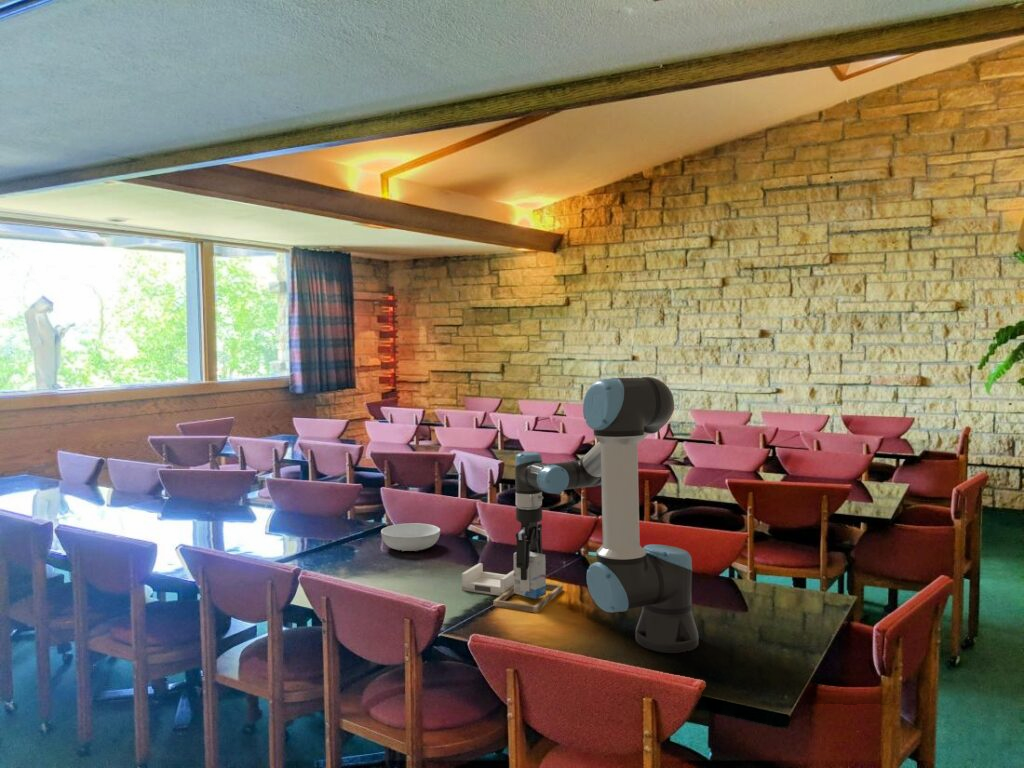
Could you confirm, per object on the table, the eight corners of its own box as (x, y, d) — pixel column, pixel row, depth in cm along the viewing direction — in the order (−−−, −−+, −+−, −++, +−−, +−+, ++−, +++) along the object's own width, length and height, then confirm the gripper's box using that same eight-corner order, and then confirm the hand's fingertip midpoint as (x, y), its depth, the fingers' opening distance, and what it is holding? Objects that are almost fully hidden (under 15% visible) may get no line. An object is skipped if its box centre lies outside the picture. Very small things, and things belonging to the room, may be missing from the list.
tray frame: (536, 612, 203) (536, 607, 203) (493, 606, 208) (493, 600, 208) (562, 590, 221) (562, 585, 221) (522, 584, 226) (522, 579, 226)
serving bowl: (437, 556, 257) (436, 537, 256) (376, 556, 257) (375, 537, 256) (443, 540, 277) (443, 522, 277) (387, 540, 278) (386, 522, 277)
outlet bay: (503, 596, 216) (503, 579, 215) (461, 590, 221) (461, 573, 221) (520, 584, 226) (520, 568, 226) (479, 579, 232) (479, 563, 232)
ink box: (547, 594, 213) (546, 553, 212) (536, 599, 209) (535, 557, 209) (524, 588, 219) (523, 548, 218) (513, 593, 215) (512, 552, 214)
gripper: (527, 514, 203) (528, 598, 204) (553, 501, 220) (554, 579, 221) (502, 512, 206) (503, 595, 207) (529, 499, 223) (530, 576, 224)
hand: (529, 587), depth 214 cm, fingers closed on ink box, 6 cm apart
